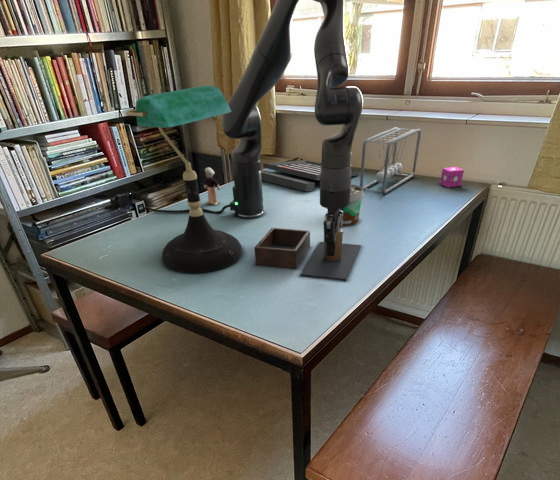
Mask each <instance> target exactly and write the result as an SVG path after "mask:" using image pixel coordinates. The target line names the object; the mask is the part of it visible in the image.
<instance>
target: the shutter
mask: <svg viewBox="0 0 560 480" xmlns="http://www.w3.org/2000/svg"><path fill="white" fill-rule="evenodd" d="M321 164H322V163H321V162H320V163H319V162H316V161H311V160H306V159H305V160H291V161H279V162H264V163H263V164H262V168H264V169H267V170H263V169H261V181H265V182H268V183H273V184H277V185H280V186H284V187H287V188H292V189H294V190H299V191H303V192H312V191H313V190H314V189H315V185H316V183H315V182H312V181H309V180H304V179H302V178H305V179H310V180H313V181H314V180H315V181H320V174H321V166H322V165H321ZM268 170H272V171H277V172H280V173H284V174H280V173H276V172H272V171H268ZM359 173H360V172H359V170H354V169H351V177H357V176H359ZM285 174H288V175H285ZM289 175H293V176H297V178H296V177H293V176H289ZM298 177H301V178H298Z"/></svg>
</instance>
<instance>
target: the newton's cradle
mask: <svg viewBox="0 0 560 480" xmlns="http://www.w3.org/2000/svg"><path fill="white" fill-rule="evenodd" d="M400 130H402V131H406V132H404V133H402V134H400ZM394 134H395V135H394ZM415 134H417V138H416V145H415V150H414V159H413V164H412V171H411V174H406V173H405V174H404V173H400V172H402V170H403V165H402V163H401V158H402V155H403V151H404V148H405V144H406V140H407V138H408V137H409V138H410V136H413V135H415ZM390 135H391V136H390ZM421 135H422V130H421V129H420V128H417V129H414V128H413V129H412V128H402V127H401V128H399V127H398V126H395V127H393V128H390V129H387V130H385V131H383V132H380V133H378V134H375V135H373V136H371V137H367V138H365V140H364V141H363V143H362V152H361V162H360V163H361V166H360V177H359V186H360V187H362V189H363V191H371V192H377V193H382V194H383V195H386V194H388V193H389V192H391V191H392V190H394V189H396V188H398V187H399V186H401V185H402V184H403V183H405V182H407V181H409V180H410V179H412V178H413V177H414V176H415V174H416V168H417V163H418V162H417V161H418V155H419V151H420V143H421ZM393 136H394V137H393ZM385 137H386V138H385ZM390 138H391V139H390ZM381 139H382V140H381ZM384 140H385V141H384ZM403 140H404V144H403V146H402V143H403ZM399 142H400V145H399V150H398V144H399ZM368 143H378V144H383V149H385V147H384V146H385V144H387V146H386V152H385V158H383V167H379V168H380V169H379V172H377V173H376V174H375V179H374V180H372V181H371V182H369V183H368V184H366V185H364V175H365V174H364V173H365V162H366V151H367V150H366V149H367V144H368ZM401 146H402V147H403V148H402V150H401V154H400V157H399V153H400V149H401ZM378 151H379V153H378V155H379V158H381V153H380V149H378ZM390 151H391V152H390ZM391 155H392V161H391V164H390V159H391ZM398 157H399V160H398ZM389 164H390V165H389ZM381 169H382V170H381ZM397 175H399V176H404V178H403V179H402V180H399V181H398V182H397V183H395V184H393V185H392V186H390V187H388V188H387V189H386V186H387V180H389V178H392V177H393V176H397ZM405 176H406V177H405ZM378 183H382V186H381V187H382V188H381V190H378V189H377V190H376V189H372V188H371V189H370V187H372V186H374V185H376V184H378Z"/></svg>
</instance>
